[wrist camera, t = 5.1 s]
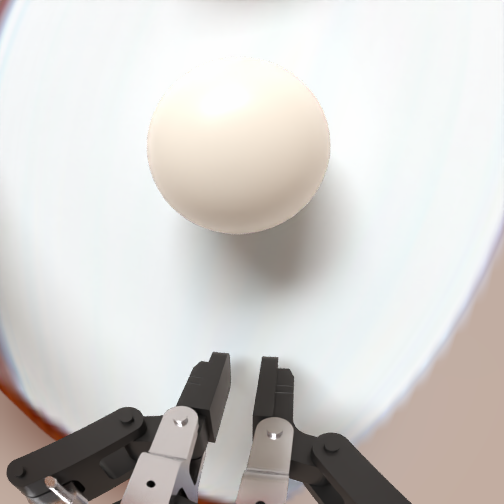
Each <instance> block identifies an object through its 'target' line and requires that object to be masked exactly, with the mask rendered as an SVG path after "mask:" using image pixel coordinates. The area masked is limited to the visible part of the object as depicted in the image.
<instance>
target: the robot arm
mask: <svg viewBox="0 0 504 504" xmlns="http://www.w3.org/2000/svg"><path fill="white" fill-rule="evenodd" d="M230 385H231V370H230V355H229V354H228V353H218V352H213V353H212V355H211V357H210V360H209V362H203V361H201V362H199V363H198V364H197V365H196V366H195V367H194V368H193V370H192V372H191V374H190V377H189V379H188V381H187V383H186V385H185V387H184V390H183V392H182V394H181V396H180V398H179V401H178V403H177V405H176V407H173V408H170V409H169V410H167V411H166V412H165V414H164V415H162V416H143V415H142V413H141V412H140V411H139V410H137V409H135V408H132V407H124V408H120V409H118V410H116V411H115V412H113V413H111V414H109V415H107V416H105V417H103V418H102V419H100V420H98V421H96V422H94V423H92V424H90V425H88V426H86V427H84V428H82V429H80V430H78V431H76V432H74V433H72V434H70V435H68V436H66V437H64V438H62V439H60V440H58V441H56V442H54V443H52V444H49V445H47V446H45V447H43V448H41V449H39V450H36V451H34V452H32V453H30V454H27V455H25V456H23V457H20V458H18V459H16V460H13V461H12V462H11V463H10V464H9V465H8V468H7V477H8V479H9V481H10V482H11V483H12V484H13V485H14V486H15V487H17V489H19V490H20V491H21V493H22V494H24V495H25V496H26V498H27V499H28V501H29V503H30V504H88V501H90V500H92V499H94V498H96V497H98V496H100V495H102V494H103V493H105V492H107V491H109V490H111V489H112V488H114V487H116V486H118V485H119V484H121V483H123V482H124V481H126V480H128V479H129V478H130V481H129V483H128V486H127V488H126V491H125V493H124V496H123V498H122V500H120V501H118V502H115V503H113V504H198V486H199V482H200V477H201V473H202V469H203V464H204V460H205V456H206V451H205V450H206V447H207V444H208V442H213V443H215V441H216V437H217V434H218V430H219V427H220V423H221V419H222V416H223V412H224V408H225V405H226V401H227V398H228V394H229V390H230ZM293 392H294V376H293V375H292V373H291V371H290V369H281V368H278V357H264V356H263V357H262V362H261V368H260V374H259V381H258V387H257V393H256V399H255V405H254V411H253V443H252V448H251V452H250V456H249V460H248V464H247V468H246V470H245V471H244V473H243V476H242V480H241V483H240V487H239V491H238V495H237V499H236V502H235V504H286V497H287V490H288V482H289V478H291V479H294V480H297V481H301V482H303V484H304V485H305V487H306V488H307V489H308V491H309V492H310V493H311V495H312V496H313V497H314V498H315V500H316V501H317V502H318V504H411V502H409V501H408V500H407V499H406V498H405V497H404V496H403V495H402V494H401V493H400V492H399V491H398V490H397V489H396V488H395V487H394V486H393V485H392V484H390V483H389V481H388V480H386V478H384V477H383V475H381V474H380V473H379V472H378V471H377V469H376V468H375V467H373V465H371V464H370V462H369V461H368V460H367V459H366V458H365V457H364V456H363V455H361V453H360V452H359V451H358V450H357V449H356V448H355V447H354V446H353V445H352V444H351V443H350V442H349V441H348V440H347V439H346V438H345V437H344V436H342V435H340V434H337V433H325V434H322V435H320V436H319V437H314V436H310V435H307V434H304V433H302V432H301V431H299V430H298V429H297V428H296V427H295V425H294V423H293Z"/></svg>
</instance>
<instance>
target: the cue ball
mask: <svg viewBox="0 0 504 504" xmlns="http://www.w3.org/2000/svg"><path fill="white" fill-rule="evenodd" d="M147 157H148V163H149V167H150V171H151V174H152V177H153V180H154V182H155V184H156V186H157V188H158V190H159V191H160V193H161V194H162V196H163V197H164V199H165V200H166V201H167V202H168V203H169V205H170V206H171V207H172V208H173V209H174V210H175V211H177V212H178V213H179V214H180V215H181V216H183V217H184V218H186V219H187V220H189V221H190V222H192V223H194V224H196V225H198V226H200V227H203V228H206V229H208V230H211V231H215V232H220V233H226V234H249V233H256V232H260V231H264V230H267V229H270V228H273V227H275V226H277V225H279V224H282V223H283V222H285V221H287V220H288V219H290V218H292V217H293V216H294V215H296V214H297V213H298V212H299V211H301V210H302V209H303V208H304V207H305V206H306V205H307V203H308V202H309V201H310V200H311V199H312V197H313V196H314V195H315V193H316V192H317V190H318V188H319V187H320V185H321V183H322V181H323V178H324V176H325V173H326V170H327V167H328V162H329V157H330V133H329V128H328V123H327V120H326V117H325V114H324V112H323V109H322V108H321V106H320V104H319V102H318V100H317V98H316V97H315V96H314V94H313V93H312V92H311V90H310V89H309V88H308V87H307V86H306V85H305V84H304V83H303V82H302V81H301V80H300V79H299V78H298V77H296V76H295V75H294V74H293V73H291V72H289V71H288V70H286V69H284V68H283V67H281V66H278V65H276V64H273V63H271V62H268V61H264V60H260V59H256V58H248V57H230V58H222V59H218V60H214V61H210V62H208V63H205V64H203V65H200V66H198V67H196V68H194V69H193V70H191V71H189V72H188V73H186V74H185V75H184V76H182V77H181V78H180V79H178V80H177V81H176V82H175V83H174V84H173V85H172V86H171V87H170V88H169V89H168V90H167V92H166V93H165V94H164V95H163V97H162V98H161V100H160V102H159V103H158V105H157V107H156V109H155V111H154V113H153V115H152V119H151V122H150V125H149V130H148V135H147Z"/></svg>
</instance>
